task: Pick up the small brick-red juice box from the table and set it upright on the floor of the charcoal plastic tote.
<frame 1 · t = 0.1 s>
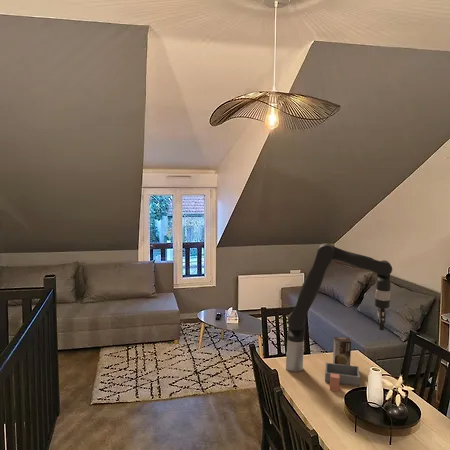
hand: (380, 327, 235), 29 cm above the table, tool pointing down, fingers open, 8 cm apart
juice box: (334, 388, 226), on the table
coffee box: (341, 366, 254), on the table
tote: (341, 378, 238), on the table
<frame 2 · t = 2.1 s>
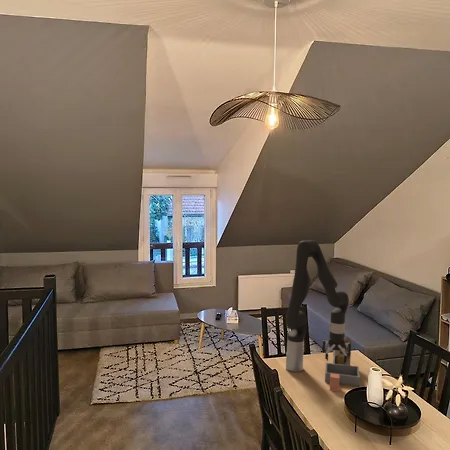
hand: (335, 361, 225), 15 cm above the table, tool pointing down, fingers open, 8 cm apart
nothing on the table moved.
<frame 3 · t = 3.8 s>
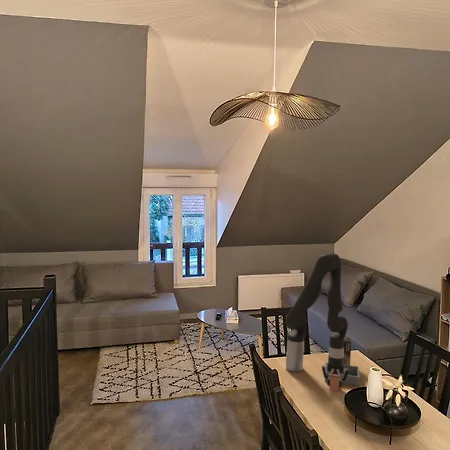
hand: (334, 386, 226), 1 cm above the table, tool pointing down, fingers closed on juice box, 4 cm apart
juice box: (334, 388, 226), on the table, touching gripper
everything else where it was.
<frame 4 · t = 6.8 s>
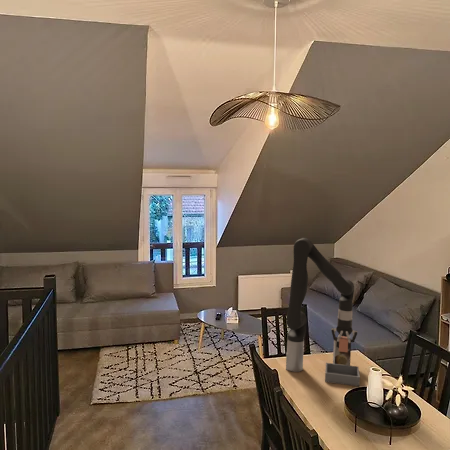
hand: (343, 348, 236), 17 cm above the table, tool pointing down, fingers closed on juice box, 4 cm apart
juice box: (343, 350, 236), point 16 cm above the table, touching gripper
everything else where it was.
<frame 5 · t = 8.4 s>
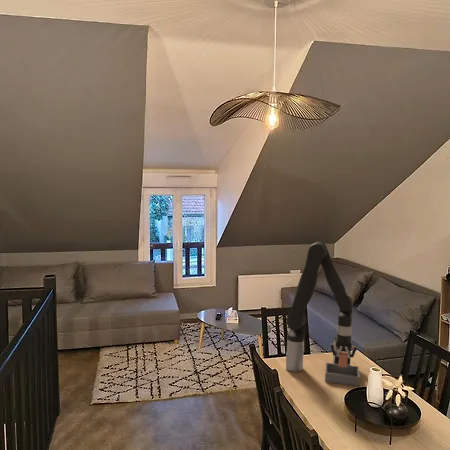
hand: (342, 363, 237), 9 cm above the table, tool pointing down, fingers closed on juice box, 4 cm apart
juice box: (342, 365, 237), point 8 cm above the table, touching gripper
everything else where it was.
when the fingers open (3 cm above the table, at t = 9.9 s): juice box drops 1 cm, resting on tote.
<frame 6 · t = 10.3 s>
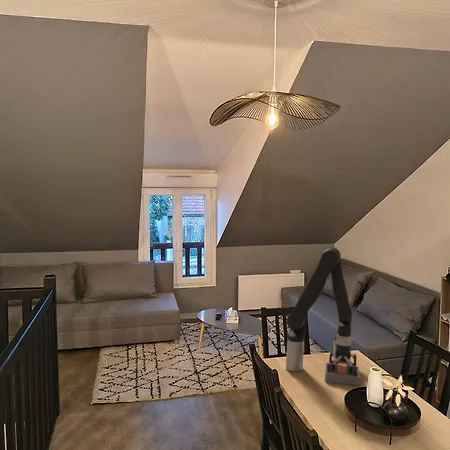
hand: (342, 371, 238), 4 cm above the table, tool pointing down, fingers open, 8 cm apart
juice box: (341, 377, 238), point 1 cm above the table, touching tote
everything else where it was.
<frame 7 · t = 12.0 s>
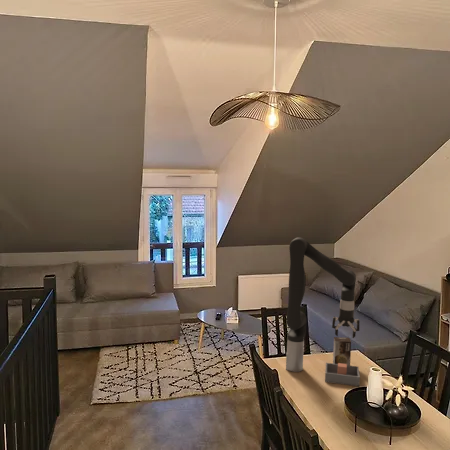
hand: (345, 336, 237), 23 cm above the table, tool pointing down, fingers open, 8 cm apart
nothing on the table moved.
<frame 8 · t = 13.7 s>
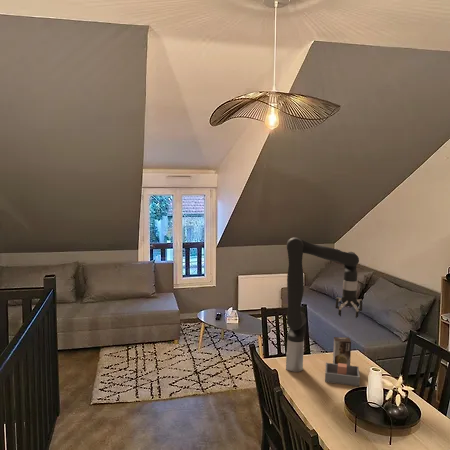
hand: (348, 316, 243), 32 cm above the table, tool pointing down, fingers open, 8 cm apart
nothing on the table moved.
at the end: juice box inside the target area on the tote (0.1 cm from its centre), point 0.6 cm above the tote's base; juice box tilted 0°; the gripper is holding nothing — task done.
